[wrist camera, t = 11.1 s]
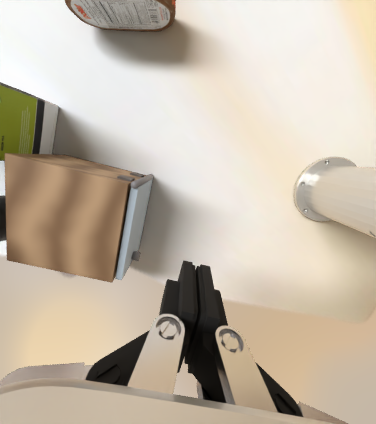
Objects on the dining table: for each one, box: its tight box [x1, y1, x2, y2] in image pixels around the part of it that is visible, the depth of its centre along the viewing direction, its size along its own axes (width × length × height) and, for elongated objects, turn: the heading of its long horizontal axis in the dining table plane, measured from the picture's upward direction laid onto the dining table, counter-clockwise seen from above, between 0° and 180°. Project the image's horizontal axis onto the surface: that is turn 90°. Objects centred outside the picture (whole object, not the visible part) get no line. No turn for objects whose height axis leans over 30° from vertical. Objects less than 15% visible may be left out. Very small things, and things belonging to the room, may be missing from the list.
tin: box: [65, 0, 176, 31], centre depth 26 cm, size 15×3×8 cm, turn 88°
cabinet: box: [5, 153, 146, 282], centre depth 32 cm, size 16×16×12 cm
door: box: [116, 174, 153, 280], centre depth 33 cm, size 2×16×11 cm, turn 166°
